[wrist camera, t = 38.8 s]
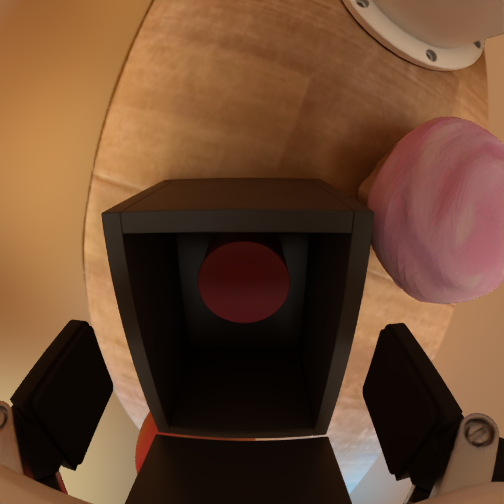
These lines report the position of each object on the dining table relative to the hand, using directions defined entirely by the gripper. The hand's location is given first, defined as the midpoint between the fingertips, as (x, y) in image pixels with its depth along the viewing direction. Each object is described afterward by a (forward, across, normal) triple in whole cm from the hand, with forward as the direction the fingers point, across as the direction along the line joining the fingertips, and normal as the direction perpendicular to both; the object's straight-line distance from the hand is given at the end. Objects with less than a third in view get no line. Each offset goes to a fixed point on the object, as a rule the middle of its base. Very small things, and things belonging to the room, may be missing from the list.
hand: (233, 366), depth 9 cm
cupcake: (+11, -10, -4) cm, 15 cm away
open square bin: (+11, 0, +2) cm, 11 cm away
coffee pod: (+10, 0, 0) cm, 10 cm away
